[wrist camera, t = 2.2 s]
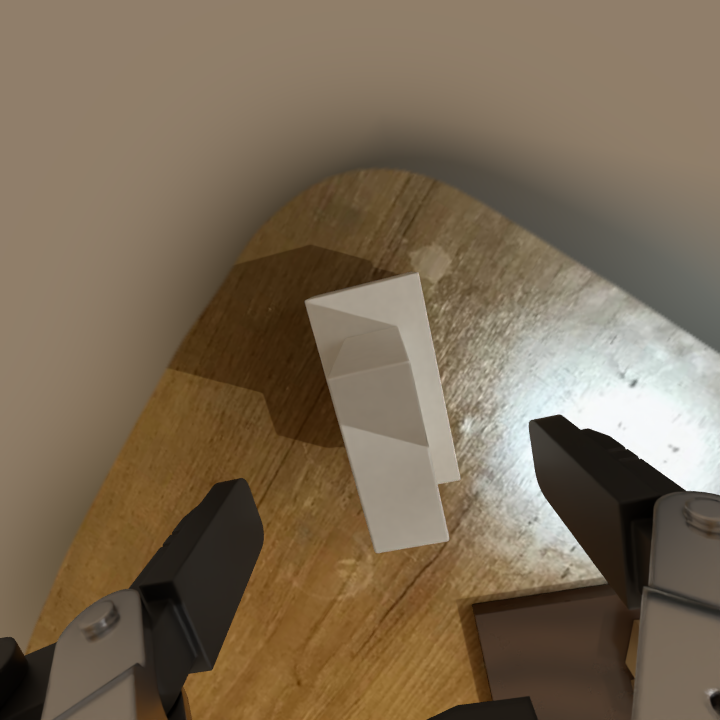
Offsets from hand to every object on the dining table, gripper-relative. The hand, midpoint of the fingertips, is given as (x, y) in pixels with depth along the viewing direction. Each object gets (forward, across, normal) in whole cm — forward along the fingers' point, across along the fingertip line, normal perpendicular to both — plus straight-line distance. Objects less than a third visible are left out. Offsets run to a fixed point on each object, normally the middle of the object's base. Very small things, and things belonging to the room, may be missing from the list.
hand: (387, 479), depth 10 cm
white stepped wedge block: (+11, 0, 0) cm, 11 cm away
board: (+11, -10, +23) cm, 27 cm away
